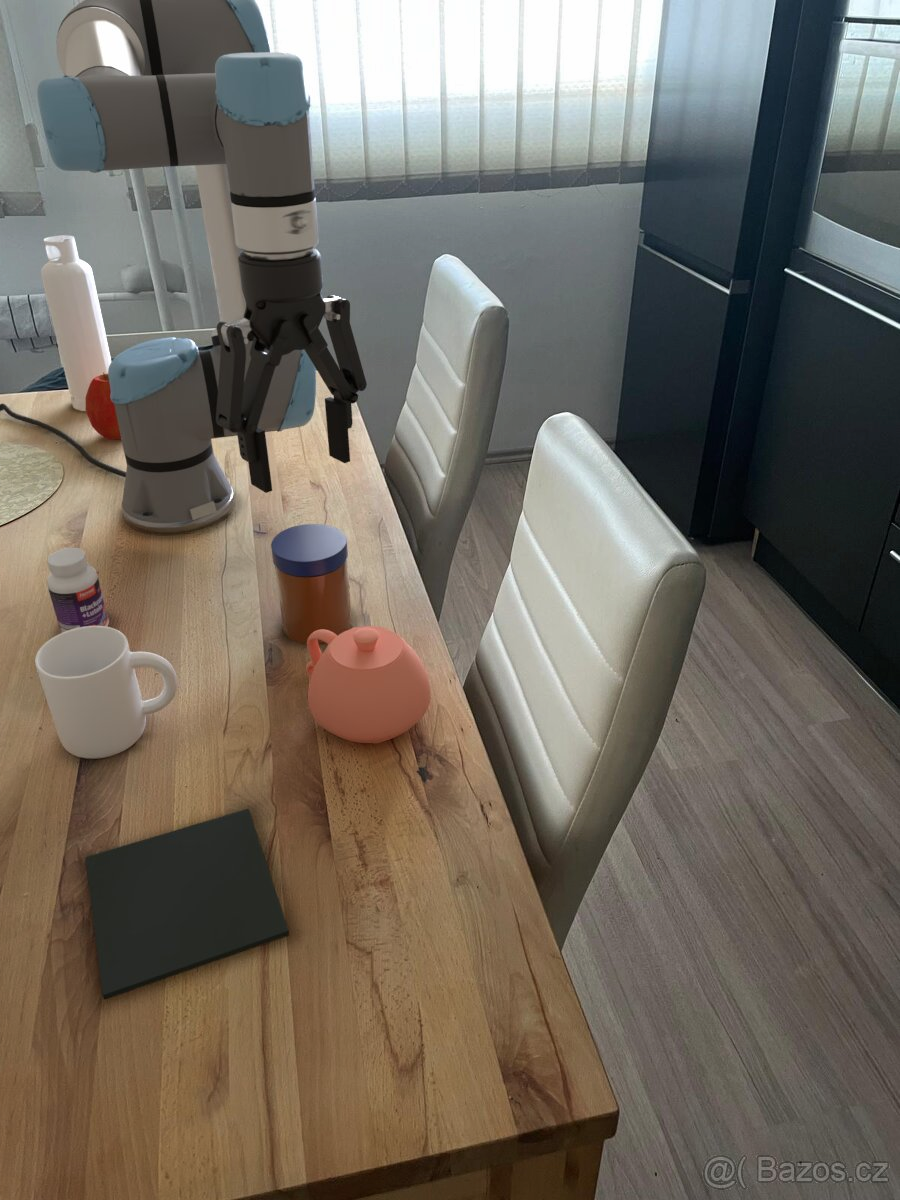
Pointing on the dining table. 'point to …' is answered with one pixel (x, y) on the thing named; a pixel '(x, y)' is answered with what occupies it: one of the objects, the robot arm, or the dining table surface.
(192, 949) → the mat
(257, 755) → the dining table surface
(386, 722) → the sugar bowl
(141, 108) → the robot arm
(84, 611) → the pill bottle
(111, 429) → the apple
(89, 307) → the bottle
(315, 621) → the jar
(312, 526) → the lid
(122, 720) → the mug
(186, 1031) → the dining table surface
